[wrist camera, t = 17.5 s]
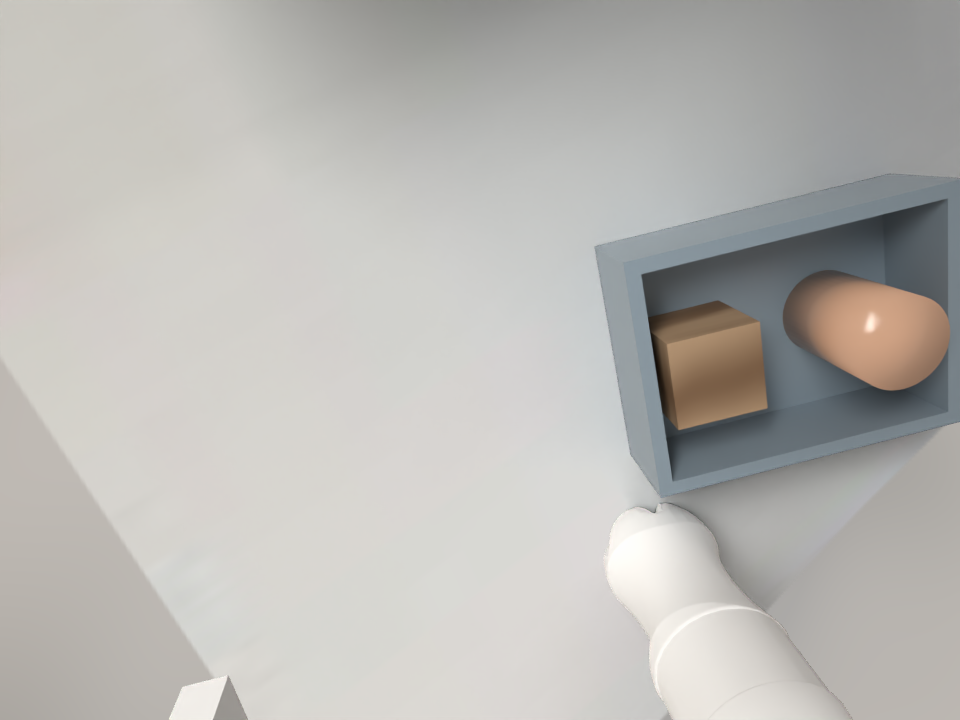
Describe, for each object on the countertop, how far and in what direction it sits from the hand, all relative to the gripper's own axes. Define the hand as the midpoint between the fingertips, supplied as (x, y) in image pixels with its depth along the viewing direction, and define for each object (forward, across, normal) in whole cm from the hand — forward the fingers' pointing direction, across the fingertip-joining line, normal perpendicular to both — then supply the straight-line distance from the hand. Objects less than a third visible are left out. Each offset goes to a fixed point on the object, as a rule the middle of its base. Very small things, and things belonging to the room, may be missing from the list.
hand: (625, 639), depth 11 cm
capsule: (+28, +20, -6) cm, 35 cm away
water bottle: (+29, +7, -19) cm, 35 cm away
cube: (+28, +11, -6) cm, 31 cm away
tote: (+29, +16, -6) cm, 33 cm away
